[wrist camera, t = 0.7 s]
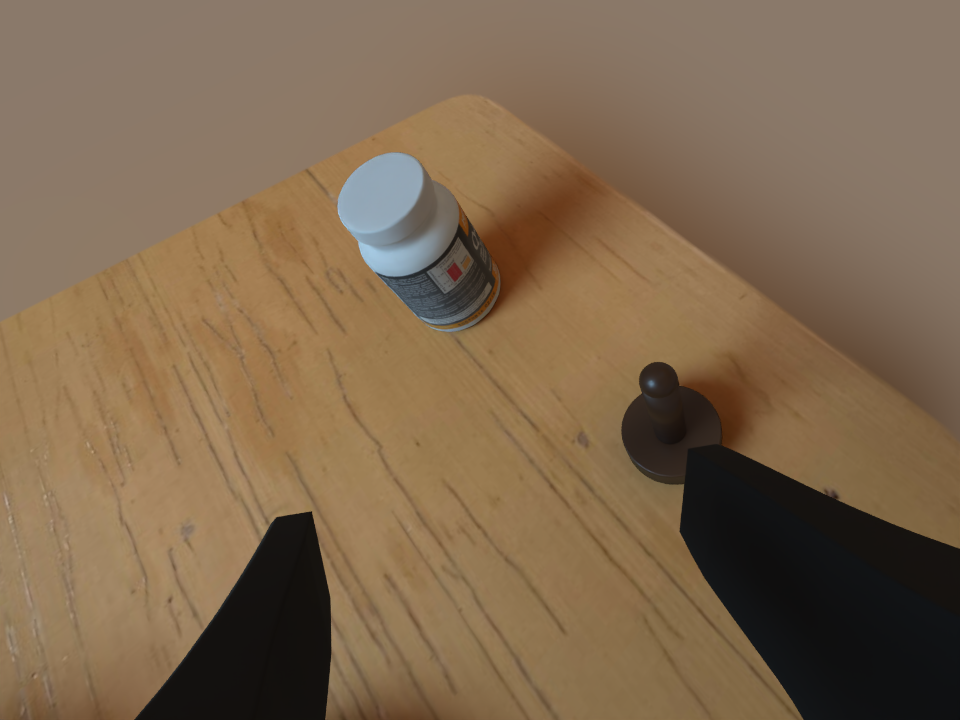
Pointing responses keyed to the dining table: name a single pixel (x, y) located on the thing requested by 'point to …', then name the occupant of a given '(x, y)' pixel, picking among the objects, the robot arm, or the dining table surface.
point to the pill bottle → (419, 242)
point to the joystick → (667, 425)
